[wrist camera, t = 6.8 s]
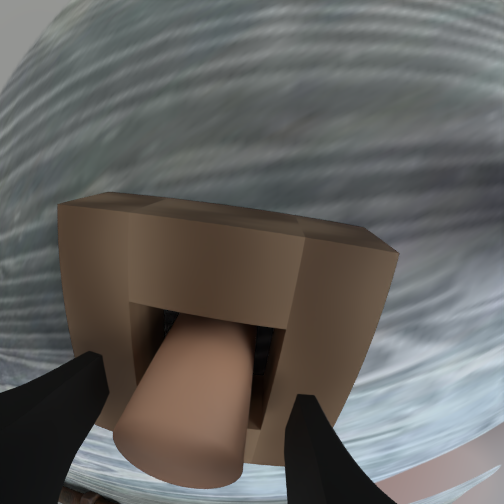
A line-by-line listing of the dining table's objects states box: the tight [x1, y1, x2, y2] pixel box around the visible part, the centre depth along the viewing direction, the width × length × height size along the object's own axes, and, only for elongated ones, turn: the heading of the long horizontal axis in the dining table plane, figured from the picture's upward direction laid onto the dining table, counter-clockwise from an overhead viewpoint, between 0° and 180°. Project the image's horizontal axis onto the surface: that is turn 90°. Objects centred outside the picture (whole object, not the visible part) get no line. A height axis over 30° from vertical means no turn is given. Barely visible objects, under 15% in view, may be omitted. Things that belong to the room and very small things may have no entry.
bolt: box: [58, 486, 118, 504], centre depth 23 cm, size 6×5×15 cm
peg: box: [113, 312, 257, 489], centre depth 11 cm, size 4×4×8 cm
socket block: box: [58, 192, 399, 466], centre depth 12 cm, size 12×12×4 cm
